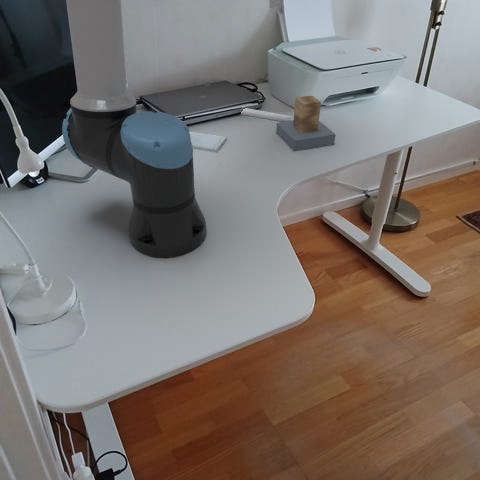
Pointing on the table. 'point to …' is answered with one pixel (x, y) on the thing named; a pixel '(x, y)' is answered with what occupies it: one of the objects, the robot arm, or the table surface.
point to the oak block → (306, 114)
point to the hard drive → (207, 141)
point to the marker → (266, 115)
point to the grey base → (305, 136)
